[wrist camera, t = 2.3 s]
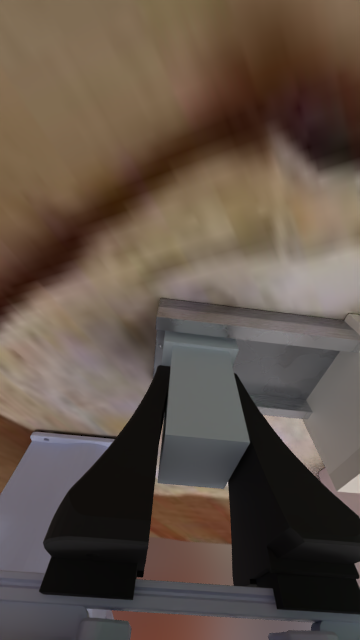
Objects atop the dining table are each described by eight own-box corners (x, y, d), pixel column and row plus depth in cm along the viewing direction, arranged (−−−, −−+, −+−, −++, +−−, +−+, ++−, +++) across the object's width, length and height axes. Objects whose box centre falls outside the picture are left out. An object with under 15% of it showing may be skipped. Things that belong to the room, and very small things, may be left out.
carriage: (160, 380, 15) (146, 483, 10) (165, 327, 12) (151, 429, 7) (218, 386, 15) (233, 491, 10) (234, 335, 13) (265, 441, 8)
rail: (153, 380, 16) (149, 403, 15) (160, 297, 13) (156, 316, 11) (295, 395, 17) (307, 419, 15) (343, 320, 13) (366, 341, 11)
